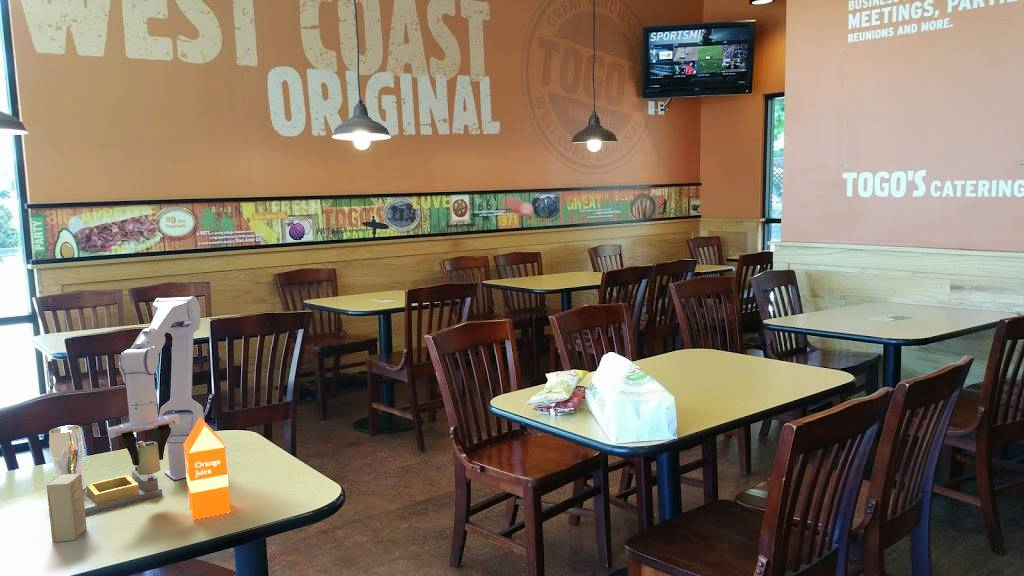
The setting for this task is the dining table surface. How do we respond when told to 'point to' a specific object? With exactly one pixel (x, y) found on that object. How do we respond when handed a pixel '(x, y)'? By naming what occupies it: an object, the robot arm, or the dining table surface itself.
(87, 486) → the grey metal fixture plate
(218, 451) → the orange juice
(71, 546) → the dining table surface
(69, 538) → the skincare box
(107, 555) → the dining table surface
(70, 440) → the beer glass
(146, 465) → the spout can
